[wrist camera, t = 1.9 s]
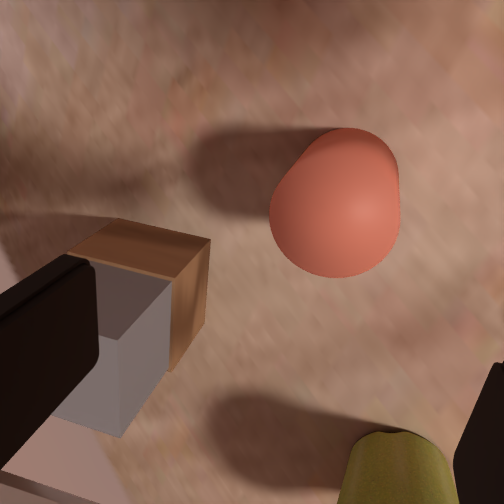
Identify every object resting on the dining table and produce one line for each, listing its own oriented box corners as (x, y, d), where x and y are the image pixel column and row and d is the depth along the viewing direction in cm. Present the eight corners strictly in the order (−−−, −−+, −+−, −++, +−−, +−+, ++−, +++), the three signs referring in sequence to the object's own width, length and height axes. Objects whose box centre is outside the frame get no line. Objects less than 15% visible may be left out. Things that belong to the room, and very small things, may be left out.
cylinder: (305, 120, 22) (277, 145, 17) (410, 137, 21) (416, 168, 16) (290, 215, 24) (262, 262, 19) (385, 234, 23) (382, 290, 18)
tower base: (118, 217, 27) (67, 251, 23) (211, 238, 26) (174, 278, 22) (120, 300, 30) (75, 344, 26) (204, 322, 29) (171, 372, 25)
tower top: (73, 256, 23) (-2, 306, 19) (171, 281, 22) (117, 340, 18) (79, 341, 26) (15, 403, 21) (168, 367, 24) (120, 438, 20)
